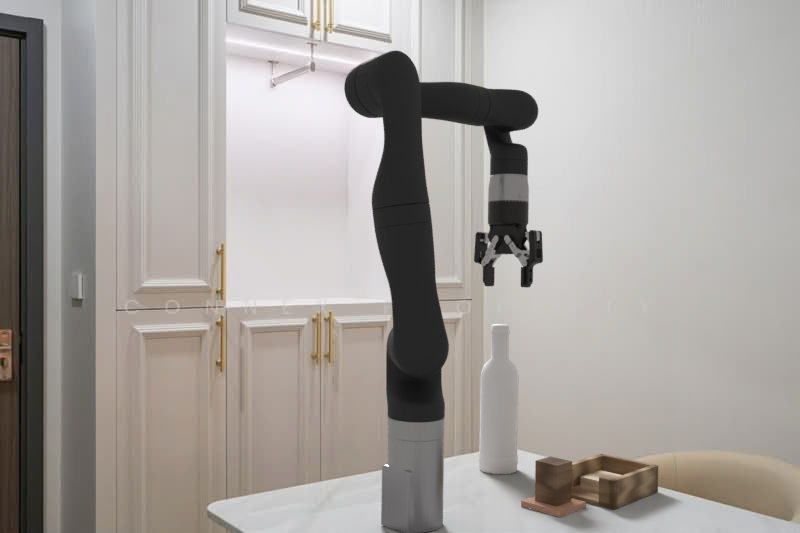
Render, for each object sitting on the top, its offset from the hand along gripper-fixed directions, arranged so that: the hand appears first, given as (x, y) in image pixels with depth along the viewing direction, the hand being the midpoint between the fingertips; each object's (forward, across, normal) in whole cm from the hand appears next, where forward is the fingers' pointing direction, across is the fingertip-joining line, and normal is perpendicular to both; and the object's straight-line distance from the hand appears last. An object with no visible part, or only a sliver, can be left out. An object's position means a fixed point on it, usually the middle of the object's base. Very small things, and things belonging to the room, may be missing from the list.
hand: (507, 286), depth 143 cm
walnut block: (+37, -12, +2) cm, 39 cm away
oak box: (+38, -14, -13) cm, 43 cm away
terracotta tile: (+38, -12, +2) cm, 40 cm away
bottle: (+38, +10, -11) cm, 41 cm away
